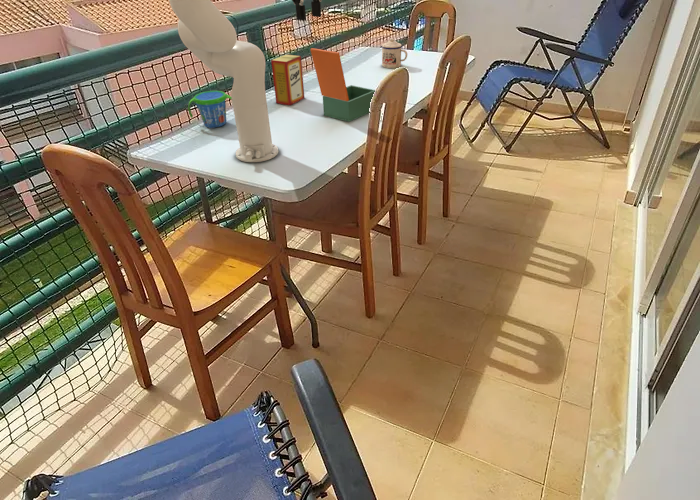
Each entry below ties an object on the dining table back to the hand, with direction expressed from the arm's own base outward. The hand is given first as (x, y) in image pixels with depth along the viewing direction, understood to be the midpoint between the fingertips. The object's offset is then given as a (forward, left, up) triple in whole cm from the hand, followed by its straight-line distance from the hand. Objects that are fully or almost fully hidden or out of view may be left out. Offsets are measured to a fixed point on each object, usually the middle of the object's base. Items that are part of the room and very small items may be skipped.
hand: (309, 17), depth 146 cm
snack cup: (+7, +35, -34) cm, 49 cm away
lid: (+6, -6, -18) cm, 20 cm away
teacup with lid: (+73, -36, -34) cm, 88 cm away
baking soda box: (+30, +10, -34) cm, 46 cm away
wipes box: (+13, -12, -34) cm, 38 cm away
